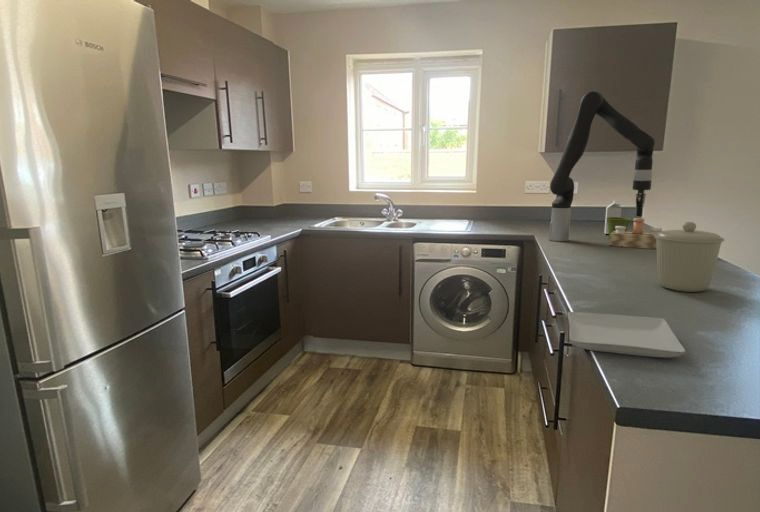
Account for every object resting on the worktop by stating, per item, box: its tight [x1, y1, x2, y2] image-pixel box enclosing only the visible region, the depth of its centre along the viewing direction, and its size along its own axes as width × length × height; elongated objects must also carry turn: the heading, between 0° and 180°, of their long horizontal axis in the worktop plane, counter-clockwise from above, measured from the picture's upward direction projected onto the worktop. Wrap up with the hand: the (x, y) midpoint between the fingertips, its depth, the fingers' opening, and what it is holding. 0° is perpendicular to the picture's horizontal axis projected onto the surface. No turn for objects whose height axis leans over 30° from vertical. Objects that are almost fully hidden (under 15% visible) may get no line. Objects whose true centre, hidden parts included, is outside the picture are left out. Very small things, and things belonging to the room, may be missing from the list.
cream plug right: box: [649, 227, 663, 235], centre depth 216 cm, size 5×5×8 cm
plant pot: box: [605, 216, 632, 239], centre depth 241 cm, size 12×12×11 cm
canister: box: [654, 221, 725, 293], centre depth 143 cm, size 18×18×21 cm
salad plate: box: [567, 311, 686, 359], centre depth 102 cm, size 21×21×3 cm
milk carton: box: [604, 200, 622, 235], centre depth 257 cm, size 7×7×19 cm
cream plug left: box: [615, 226, 626, 234], centre depth 224 cm, size 5×5×8 cm
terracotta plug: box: [632, 217, 645, 235], centre depth 220 cm, size 5×5×8 cm
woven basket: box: [609, 231, 657, 250], centre depth 221 cm, size 22×10×6 cm, turn 55°
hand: (638, 216), depth 219 cm, fingers closed
